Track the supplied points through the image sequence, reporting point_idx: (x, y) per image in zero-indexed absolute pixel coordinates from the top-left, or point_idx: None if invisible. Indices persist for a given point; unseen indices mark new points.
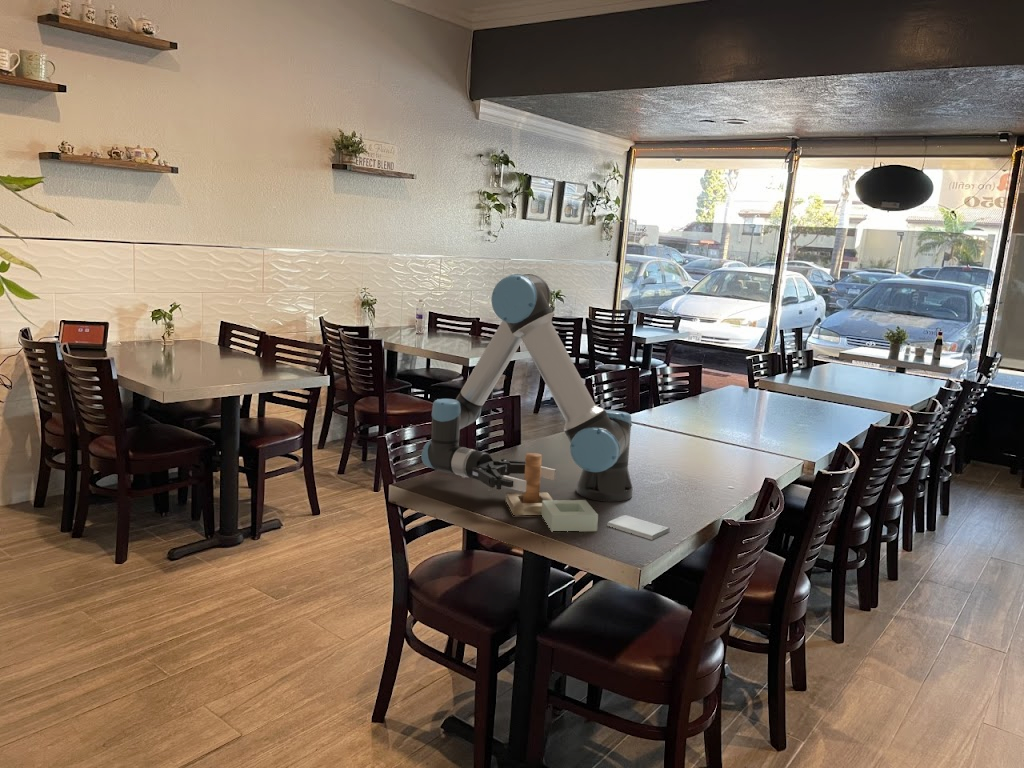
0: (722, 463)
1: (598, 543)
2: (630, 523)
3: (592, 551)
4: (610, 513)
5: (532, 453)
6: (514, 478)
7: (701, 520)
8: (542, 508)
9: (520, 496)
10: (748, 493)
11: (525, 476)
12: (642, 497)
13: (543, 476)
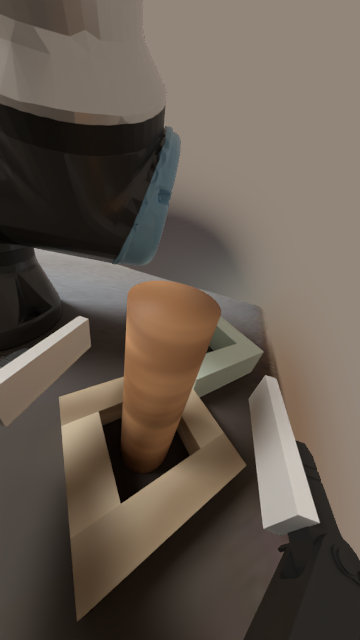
0: None
1: (238, 326)
2: None
3: (263, 330)
4: (123, 314)
5: (143, 302)
6: (285, 426)
7: (121, 268)
8: (199, 387)
9: (116, 487)
10: None
11: (184, 403)
12: None
13: (58, 372)
